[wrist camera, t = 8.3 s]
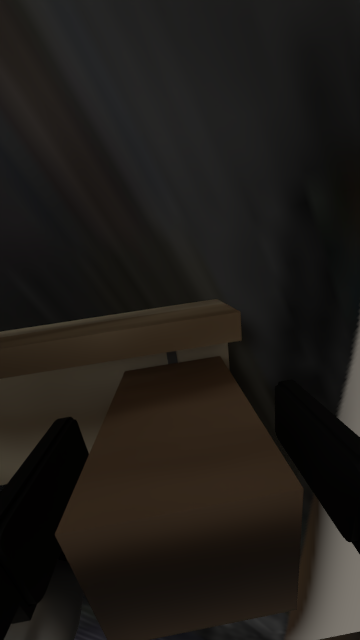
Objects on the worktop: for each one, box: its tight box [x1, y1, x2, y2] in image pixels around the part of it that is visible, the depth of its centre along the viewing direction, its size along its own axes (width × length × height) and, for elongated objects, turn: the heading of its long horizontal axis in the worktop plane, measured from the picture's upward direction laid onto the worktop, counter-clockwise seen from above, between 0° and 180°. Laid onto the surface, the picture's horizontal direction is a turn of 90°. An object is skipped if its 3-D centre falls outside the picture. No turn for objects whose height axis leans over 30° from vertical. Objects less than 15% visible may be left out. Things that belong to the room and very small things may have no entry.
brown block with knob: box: [55, 356, 303, 640], centre depth 7 cm, size 6×5×6 cm
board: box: [0, 299, 242, 485], centre depth 10 cm, size 9×20×4 cm, turn 98°
